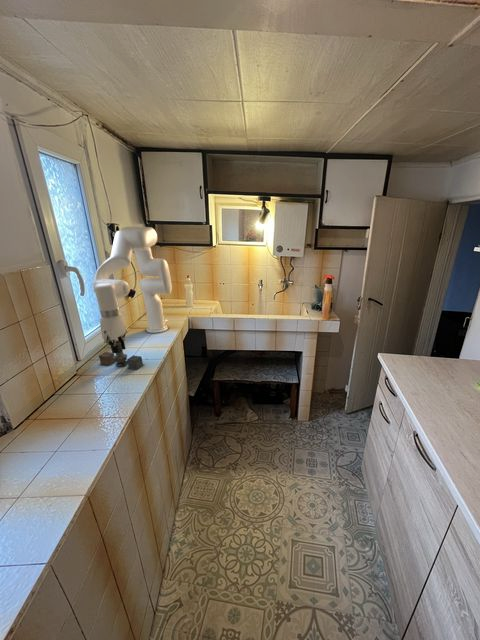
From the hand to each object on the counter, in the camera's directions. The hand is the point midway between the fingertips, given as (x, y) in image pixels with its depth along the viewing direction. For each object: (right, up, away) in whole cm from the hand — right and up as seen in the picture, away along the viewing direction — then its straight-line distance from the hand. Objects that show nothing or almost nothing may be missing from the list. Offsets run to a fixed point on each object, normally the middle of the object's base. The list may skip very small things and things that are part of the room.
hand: (118, 350), depth 129 cm
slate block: (+7, -7, +1) cm, 10 cm away
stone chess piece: (0, -6, +3) cm, 7 cm away
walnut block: (-7, -6, +5) cm, 10 cm away
